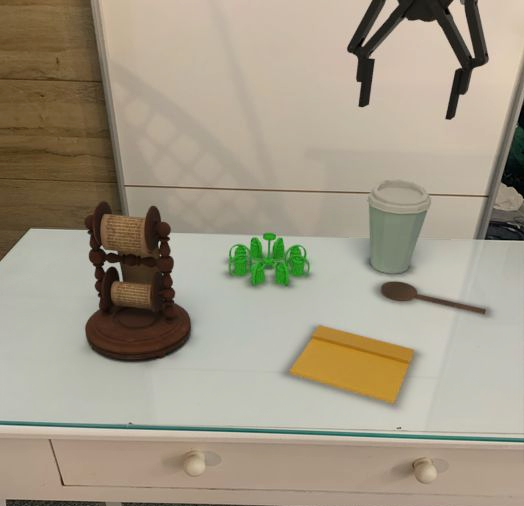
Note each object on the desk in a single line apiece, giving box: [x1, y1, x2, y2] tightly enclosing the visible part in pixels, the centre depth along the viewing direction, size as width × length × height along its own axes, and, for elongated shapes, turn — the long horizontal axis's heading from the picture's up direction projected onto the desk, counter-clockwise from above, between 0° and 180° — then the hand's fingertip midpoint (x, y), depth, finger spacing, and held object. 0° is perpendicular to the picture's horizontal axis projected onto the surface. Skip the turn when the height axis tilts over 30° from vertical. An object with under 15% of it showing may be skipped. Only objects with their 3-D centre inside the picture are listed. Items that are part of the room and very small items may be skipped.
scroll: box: [83, 200, 192, 360], centre depth 75 cm, size 15×15×20 cm
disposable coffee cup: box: [366, 179, 432, 275], centre depth 97 cm, size 11×11×15 cm
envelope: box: [289, 324, 415, 405], centre depth 76 cm, size 14×12×2 cm
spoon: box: [380, 280, 487, 315], centre depth 91 cm, size 17×6×1 cm, turn 66°
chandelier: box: [228, 232, 311, 287], centre depth 97 cm, size 15×15×7 cm
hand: (405, 112), depth 85 cm, fingers open, 13 cm apart
